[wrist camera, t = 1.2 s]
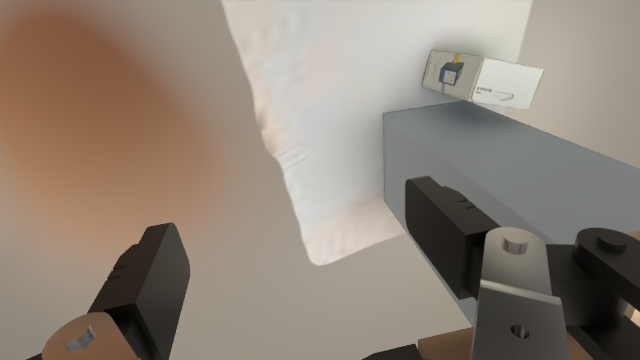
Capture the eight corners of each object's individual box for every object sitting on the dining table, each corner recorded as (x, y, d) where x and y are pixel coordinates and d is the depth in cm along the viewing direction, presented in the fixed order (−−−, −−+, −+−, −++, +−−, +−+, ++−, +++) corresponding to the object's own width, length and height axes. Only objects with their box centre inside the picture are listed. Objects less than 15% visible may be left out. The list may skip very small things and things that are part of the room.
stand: (383, 113, 48) (561, 246, 20) (465, 100, 50) (741, 209, 22) (384, 201, 55) (519, 393, 27) (457, 187, 57) (658, 357, 28)
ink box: (420, 86, 48) (466, 105, 37) (430, 48, 46) (483, 56, 35) (472, 93, 50) (529, 114, 39) (484, 57, 48) (549, 68, 37)
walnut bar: (418, 339, 22) (449, 402, 18) (705, 273, 24) (783, 317, 21) (416, 377, 24) (444, 441, 20) (683, 311, 26) (751, 358, 22)
